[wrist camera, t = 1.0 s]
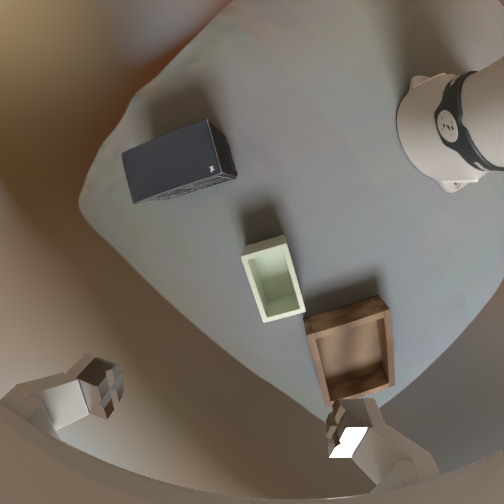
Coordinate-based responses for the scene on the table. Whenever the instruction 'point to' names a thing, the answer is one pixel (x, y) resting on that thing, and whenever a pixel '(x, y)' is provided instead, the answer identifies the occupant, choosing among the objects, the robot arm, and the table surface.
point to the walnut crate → (352, 349)
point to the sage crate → (273, 278)
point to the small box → (178, 163)
